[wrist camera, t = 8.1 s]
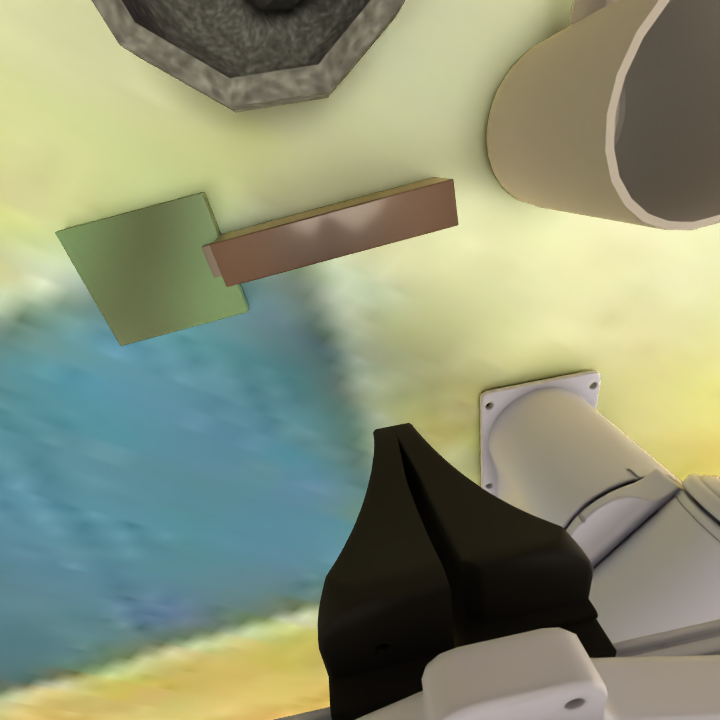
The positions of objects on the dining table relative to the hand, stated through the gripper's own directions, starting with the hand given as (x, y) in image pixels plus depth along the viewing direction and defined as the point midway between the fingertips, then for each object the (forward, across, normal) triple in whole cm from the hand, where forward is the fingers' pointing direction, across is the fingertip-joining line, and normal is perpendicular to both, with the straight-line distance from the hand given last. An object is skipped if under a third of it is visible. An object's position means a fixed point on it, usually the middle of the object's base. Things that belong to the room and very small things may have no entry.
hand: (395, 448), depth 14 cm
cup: (+10, -11, -11) cm, 18 cm away
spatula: (+10, +4, -6) cm, 12 cm away
